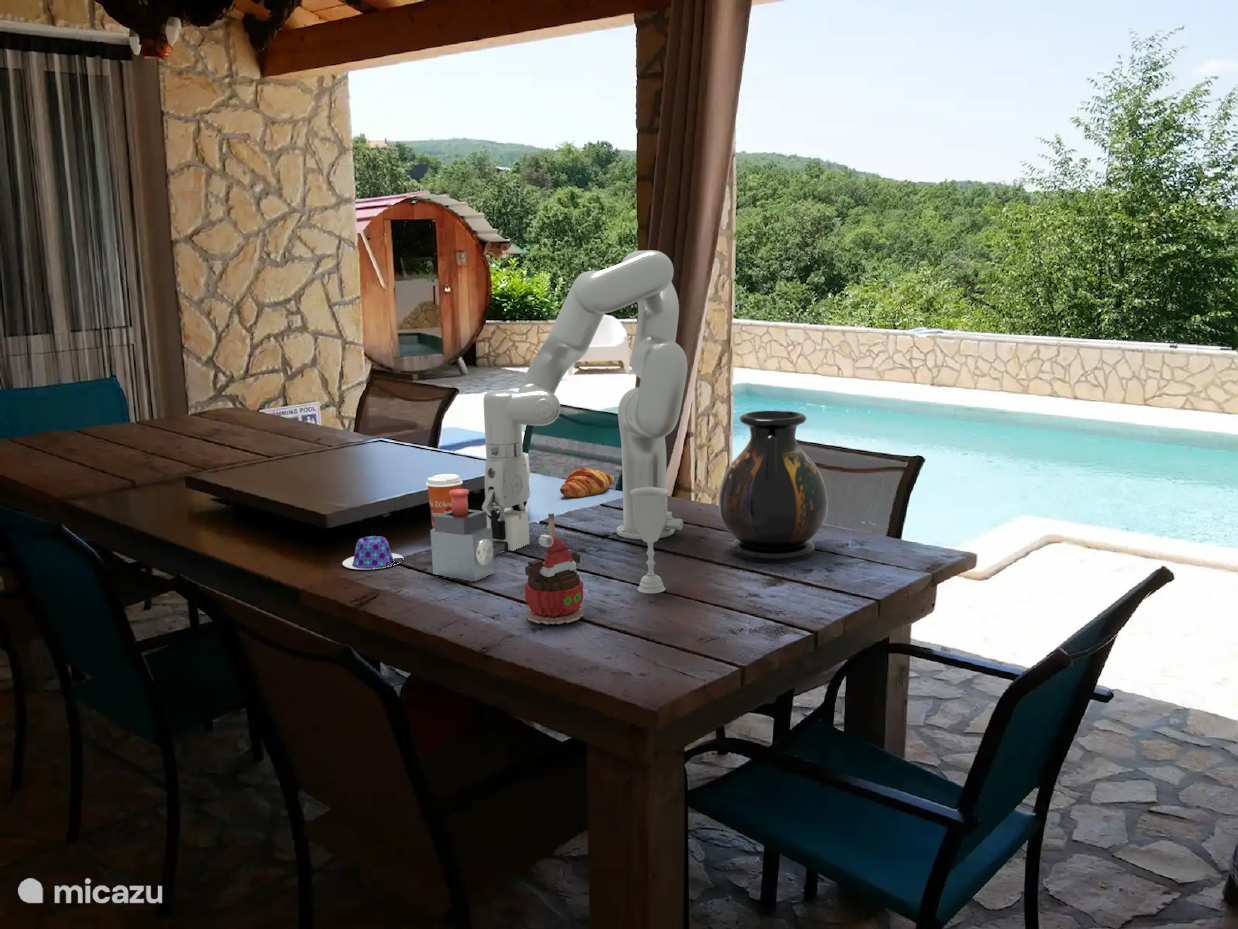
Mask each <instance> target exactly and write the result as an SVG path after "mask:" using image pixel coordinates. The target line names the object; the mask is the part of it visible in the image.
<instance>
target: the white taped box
mask: <svg viewBox="0 0 1238 929" xmlns="http://www.w3.org/2000/svg"><path fill="white" fill-rule="evenodd" d="M495 511H496V510H495ZM496 512H497V513H498V512H499V510H497V511H496ZM502 521H505V536H506V539H505V540H498V539H492V540H493V542H495V541H503V542H508V550H507V551H509V550H510V552H511V551H512V552H514V551H516V549H517V550H518V548H519V549H521V548H523V546H524V547H526V546H528V545H531V544H530V543H531V542H530V543H529V539H530V524H529V511H528V512H525V511H516V510H507V509H504V515H503V520H502ZM487 527H488V528H491V521H490V520H489V517H488V516H487ZM527 544H528V545H527ZM525 545H526V546H525Z"/></svg>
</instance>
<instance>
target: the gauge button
mask: <svg viewBox="0 0 1238 929" xmlns="http://www.w3.org/2000/svg"><path fill="white" fill-rule="evenodd" d="M469 491H470V490H469V489H467V488H466V489H465V488H461V489H454V490H451V491H449V493H450V495H451V500H452V515H453V516H458V517H460V516H466V515H468V509H469V502H468V500H469V499H468V495H469Z"/></svg>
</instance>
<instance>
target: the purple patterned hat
mask: <svg viewBox="0 0 1238 929" xmlns="http://www.w3.org/2000/svg"><path fill="white" fill-rule="evenodd" d="M355 544H356V545H355V549H354V556H350V557H348V558H346V559H345V560H343V561H342V563H341V564H342V565H343V567H345V568H347V569H353V570H364V571H365V570H366V571H367V570H368V569H371V568H372V569H373V570H378V569H380V568H381V567H380V566H384V565H388V566H387V567H386V566H385V567H382V568H381V569H385V568H389V567H392V565H391V564H390V562H392V561H394V560H393V559H394V558H403V559H404V557H403V556H402V555H401V554H398V553H394V552H393V553H392V551H391V548H390V546H389V542H388V540H387V539H386V537H384V536H380V535H379V536H377V535H373V536H364V537H361V538H359V539H358V540H357V542H356V543H355ZM394 562H395V561H394ZM400 563H401V562H399V563H397V564H394V565H393V566H395V565H398V564H400ZM389 564H390V565H391V566H389ZM378 567H379V568H378Z"/></svg>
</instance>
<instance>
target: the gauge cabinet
mask: <svg viewBox="0 0 1238 929" xmlns="http://www.w3.org/2000/svg"><path fill="white" fill-rule="evenodd" d="M434 524H435V529H433V528H432V529H430V530H429V531H430V544H431V546H430V547H431V558H432V559H431V561H432V563H431V564H432V575H433V574H435V575H444V576H445V575H446V576H450V577H455V578H463V579H468V580H472V581H476V582H478V581H477V580H478V579H480V578H483V579H485V578H487V577H486V576H488V575H490V576H492V575H493V574H492V573H494V574H495V563H494V561H495V560H494V556H493V540H492V528H488V527H487V515H486V511H484V510H478V509H469V508H468V515H466V516H460V517H458V516H453V515H452V510H450V511H447V512H444V513H441V514H438V515H435V516H434ZM491 574H492V575H491ZM484 577H485V578H484ZM488 577H489V576H488ZM472 581H471V582H472Z"/></svg>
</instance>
